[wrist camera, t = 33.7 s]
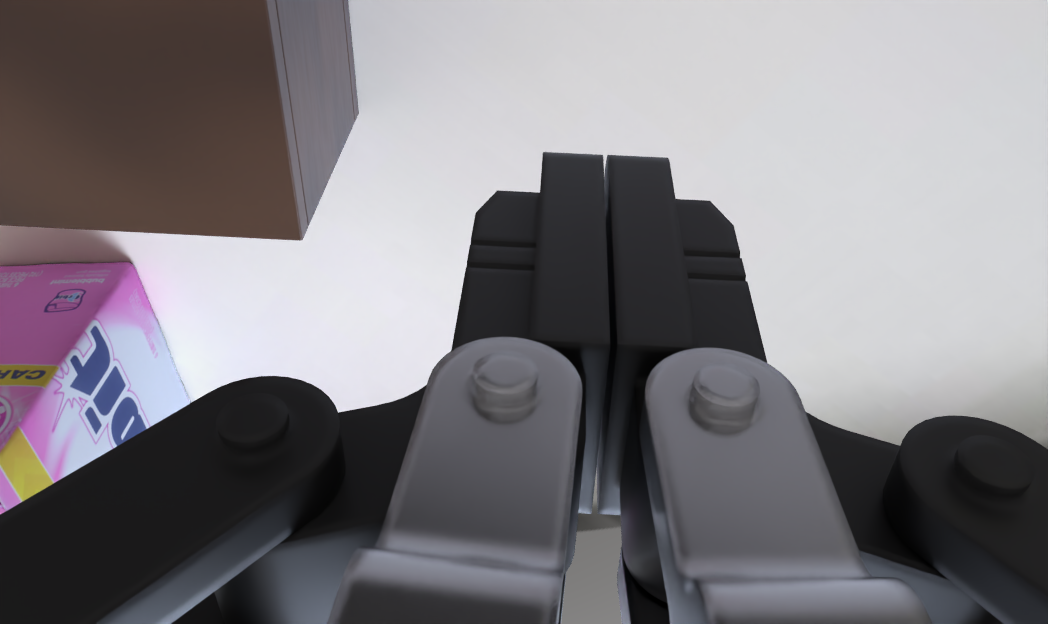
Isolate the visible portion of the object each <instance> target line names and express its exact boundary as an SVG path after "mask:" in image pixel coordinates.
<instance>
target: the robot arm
mask: <svg viewBox="0 0 1048 624" xmlns="http://www.w3.org/2000/svg"><path fill="white" fill-rule="evenodd" d="M745 278H746V274H745V270H744V266H743V262H742V258H740V250H739V246H738V242H737V238H736V234H735V230H734V226H733V225H732V223H731V222H730V221H729V220H728V219H727V218H726V217H725V216H724V215H723V214H722V213H721V212H720V211H719V210H718V209H717V208H716V207H715V206H714V205H713V204H712V203H711V201H702V200H681V199H675V194H674V187H673V181H672V175H671V168H670V162H669V159H668V158H660V157H639V156H618V155H608V156H607V160H606V167H605V176H604V166H603V155H593V154H572V153H552V152H543V160H542V174H541V188H540V193H534V192H514V191H497V192H496V193H495V194H494V195H493V196H492V197H491V198H490V199H489V200H488V201H487V202H486V203H485V204H484V205H483V206H482V207H481V208H480V209H479V210H478V211H477V212H476V215H475V220H474V226H473V232H472V237H471V245H470V249H469V254H468V260H467V267H466V271H465V277H464V283H463V288H462V294H461V300H460V305H459V311H458V316H457V322H456V328H455V333H454V339H453V345H452V350H451V352H450V353H448V354H446V355H445V356H444V357H443V358H442V359H441V360H440V361H439V362H438V363H437V365H436V366H435V367H434V369H433V370H432V373H431V375H430V377H429V380H428V383H427V385H426V386H425V387H423V388H422V389H420V390H419V391H417V392H415V393H413V394H411V395H409V396H407V397H404V398H401V399H399V400H396V401H393V402H389V403H385V404H381V405H377V406H371V407H366V408H361V409H355V410H350V411H345V412H339V413H338V412H337V409H336V407H335V405H334V403H333V402H332V400H331V399H330V398H329V397H328V396H327V395H326V394H325V393H324V392H323V391H322V390H320V389H319V388H317V387H315V386H314V385H312V384H309V383H307V382H304V381H302V380H298V379H293V378H289V377H279V376H261V377H254V378H247V379H243V380H239V381H235V382H232V383H229V384H227V385H224V386H221V387H219V388H217V389H215V390H213V391H211V392H209V393H207V394H206V395H204V396H202V397H201V398H199V399H197V400H195V401H194V402H192V403H190V404H189V405H187V406H185V407H183V408H182V409H180V410H178V411H177V412H175V413H173V414H171V415H170V416H168V417H166V418H165V419H163V420H161V421H159V422H158V423H156V424H154V425H153V426H151V427H149V428H147V429H146V430H144V431H142V432H141V433H139V434H137V435H135V436H134V437H132V438H130V439H129V440H127V441H125V442H123V443H122V444H120V445H118V446H117V447H115V448H113V449H112V450H110V451H108V452H106V453H105V454H103V455H101V456H100V457H98V458H96V459H94V460H93V461H91V462H89V463H88V464H86V465H84V466H82V467H81V468H79V469H77V470H76V471H74V472H72V473H70V474H69V475H67V476H65V477H64V478H62V479H60V480H58V481H57V482H55V483H53V484H52V485H50V486H48V487H46V488H45V489H43V490H41V491H40V492H38V493H36V494H34V495H33V496H31V497H29V498H28V499H26V500H24V501H23V502H21V503H19V504H17V505H16V506H14V507H12V508H11V509H9V510H7V511H5V512H4V513H2V514H0V624H561V617H562V608H563V598H564V588H565V579H566V571H567V570H568V568H569V566H570V565H571V562H572V559H573V556H574V550H575V542H576V532H577V522H578V513H590V514H591V511H592V503H593V494H594V485H595V476H596V467H597V504H598V514H614V515H621V532H622V533H621V534H622V547H621V553H620V560H619V567H618V574H617V586H618V594H619V602H620V610H621V618H622V624H1048V449H1046V448H1045V447H1043V446H1042V445H1040V444H1039V443H1037V442H1036V441H1034V440H1032V439H1030V438H1029V437H1027V436H1025V435H1024V434H1022V433H1020V432H1018V431H1015V430H1013V429H1011V428H1009V427H1007V426H1004V425H1001V424H998V423H995V422H992V421H988V420H984V419H980V418H975V417H967V416H942V417H935V418H932V419H928V420H925V421H923V422H921V423H919V424H917V425H916V426H914V427H913V428H912V429H911V430H910V431H908V433H907V434H906V436H905V437H904V439H903V441H902V443H901V446H898V445H895V444H892V443H888V442H885V441H881V440H878V439H874V438H871V437H868V436H864V435H861V434H857V433H854V432H850V431H847V430H844V429H841V428H838V427H835V426H832V425H830V424H828V423H826V422H824V421H821V420H819V419H817V418H816V417H814V416H812V415H810V414H809V413H807V412H805V409H804V407H803V404H802V402H801V399H800V397H799V395H798V393H797V391H796V389H795V388H794V386H793V385H792V384H791V383H790V381H789V380H788V379H787V378H786V377H785V376H784V375H783V374H782V373H781V372H779V371H778V370H776V369H775V368H774V367H772V366H771V365H769V364H767V360H766V356H765V352H764V348H763V344H762V339H761V335H760V331H759V327H758V323H757V319H756V315H755V311H754V307H753V303H752V299H751V295H750V291H749V287H748V283H747V282H746V281H745Z"/></svg>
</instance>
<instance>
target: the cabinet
mask: <svg viewBox="0 0 1048 624" xmlns="http://www.w3.org/2000/svg"><path fill="white" fill-rule="evenodd" d="M358 114H359V111H358V100H357V90H356V79H355V69H354V58H353V48H352V37H351V27H350V16H349V6H348V0H0V225H6V226H26V227H45V228H65V229H85V230H105V231H124V232H144V233H164V234H183V235H203V236H223V237H243V238H262V239H282V240H303V238H304V235H305V233H306V231H307V229H308V226H309V223H310V221H311V219H312V217H313V214H314V212H315V210H316V208H317V205H318V203H319V201H320V199H321V197H322V194H323V192H324V190H325V188H326V185H327V183H328V181H329V179H330V176H331V174H332V172H333V170H334V167H335V165H336V163H337V161H338V158H339V156H340V154H341V152H342V149H343V147H344V145H345V143H346V140H347V138H348V136H349V134H350V131H351V129H352V127H353V125H354V122H355V120H356V118H357V116H358Z"/></svg>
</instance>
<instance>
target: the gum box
mask: <svg viewBox="0 0 1048 624" xmlns="http://www.w3.org/2000/svg"><path fill="white" fill-rule="evenodd" d="M189 404H190V400H189V398H188V395H187V393H186V391H185V388H184V386H183V384H182V382H181V380H180V377H179V375H178V373H177V370H176V368H175V365H174V363H173V360H172V357H171V354H170V351H169V348H168V346H167V343H166V341H165V338H164V336H163V333H162V331H161V328H160V326H159V323H158V321H157V319H156V317H155V315H154V313H153V311H152V308H151V306H150V303H149V301H148V298H147V296H146V293H145V291H144V288H143V286H142V284H141V281H140V279H139V276H138V274H137V271H136V269H135V267H134V266H133V264H131V263H128V262H117V263H88V264H84V263H67V264H41V265H28V266H1V267H0V514H2V513H4V512H5V511H7V510H9V509H11V508H12V507H14V506H16V505H17V504H19V503H21V502H23V501H24V500H26V499H28V498H29V497H31V496H33V495H34V494H36V493H38V492H40V491H41V490H43V489H45V488H46V487H48V486H50V485H52V484H53V483H55V482H57V481H58V480H60V479H62V478H64V477H65V476H67V475H69V474H70V473H72V472H74V471H76V470H77V469H79V468H81V467H82V466H84V465H86V464H88V463H89V462H91V461H93V460H94V459H96V458H98V457H100V456H101V455H103V454H105V453H106V452H108V451H110V450H112V449H113V448H115V447H117V446H118V445H120V444H122V443H123V442H125V441H127V440H129V439H130V438H132V437H134V436H135V435H137V434H139V433H141V432H142V431H144V430H146V429H147V428H149V427H151V426H153V425H154V424H156V423H158V422H159V421H161V420H163V419H165V418H166V417H168V416H170V415H171V414H173V413H175V412H177V411H178V410H180V409H182V408H183V407H185V406H187V405H189Z"/></svg>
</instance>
